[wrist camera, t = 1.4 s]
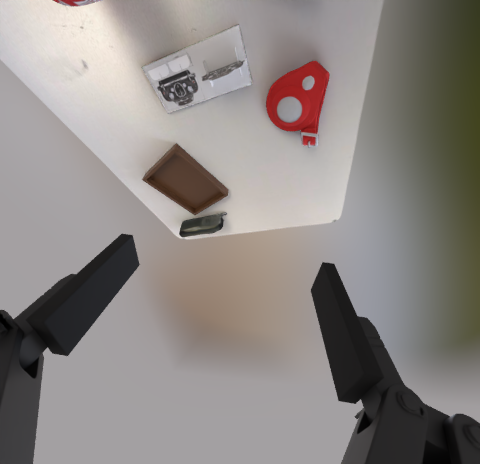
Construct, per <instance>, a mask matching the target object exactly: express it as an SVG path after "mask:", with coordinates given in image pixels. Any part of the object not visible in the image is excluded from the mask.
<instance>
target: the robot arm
mask: <svg viewBox="0 0 480 464" xmlns="http://www.w3.org/2000/svg"><path fill="white" fill-rule="evenodd" d="M138 266H139V261H138V257H137V252H136V248H135V243H134V240H133V236H132V235H126V234H121V235H120V236H119V237H118V238H117V239H116V240H114V241H113V242H112V243H111V244H110V245H109V246H108V247H106V248H105V249H104V250H103V251H102V252H101V253H100V254H99V255H97V256H96V257H95V258H94V259H93V260H92V261H91V262H90V263H88V264H87V265H86V266H85V267H84V268H83V269H82V270H81V271H80V272H79V273H78V274H70V275H69V276H67V277H65V278H63V279H61V280H60V281H58V282H57V283H56V284H55V285H54V286H53V287H52V288H51V289H49V290H48V291H47V292H45V293H44V295H42V296H41V297H40V298H38V299H37V300H36V301H35V302H34V303H32V304H31V305H30V306H29V307H28V308H27V309H25V310H24V311H23V312H22V313H21V314H20V315H19V316H17V317H16V318H15V319H12V317H11V316H10V315H9V314H8V313H7V312H6V311H4V310H0V464H33V457H34V448H35V438H36V428H37V418H38V409H39V399H40V390H41V380H42V371H43V361H44V357H43V352H44V350H45V349H46V348H47V347H48V348H49V349H50V351H51V352H52V353H54V354H59V355H65V356H68V355H69V354H70V352H71V351H72V350H73V348H74V347H75V346H76V345H77V343H78V342H79V341H80V340H81V338H82V337H83V336H84V335H85V333H86V332H87V331H88V330H89V328H90V327H91V326H92V324H93V323H94V322H95V321H96V319H97V318H98V317H99V316H100V314H101V313H102V312H103V310H104V309H105V308H106V307H107V305H108V304H109V303H110V302H111V300H112V299H113V298H114V297H115V295H116V294H117V293H118V292H119V290H120V289H121V288H122V286H123V285H124V284H125V283H126V281H127V280H128V279H129V278H130V276H131V275H132V274H133V273H134V271H135V270H136V269H137V267H138ZM311 293H312V297H313V301H314V305H315V309H316V313H317V317H318V321H319V325H320V329H321V332H322V337H323V341H324V344H325V349H326V353H327V357H328V360H329V364H330V368H331V372H332V376H333V380H334V384H335V388H336V392H337V396H338V400H339V401H342V402H349V403H354V404H356V402H358V401H359V400H360V399H361V400H362V403H363V406H364V408H363V409H362V410H361V411H360V412H359V413H357V415H356V416H355V418H356V419H358V418H359V419H358V422H357V424H356V427H355V429H354V432H353V434H352V437H351V440H350V442H349V445H348V447H347V450H346V452H345V455H344V457H343V460H342V462H341V464H480V423H478V422H477V421H475V420H474V419H472V418H471V417H469V416H467V415H464V414H455V415H453V416H451V417H450V416H448V415H446V414H444V413H442V412H440V411H438V410H436V409H434V408H432V407H429V406H428V405H425V404H424V403H423V402H422V401H421V400H420V398H419V397H418V396H417V395H416V394H415V393H414V392H413V391H412V390H411V389H409V388H407V387H406V386H405V385H404V383H403V381H402V380H401V378H400V376H399V374H398V372H397V370H396V368H395V366H394V364H393V362H392V360H391V358H390V356H389V354H388V352H387V350H386V348H385V347H384V344H383V342H382V340H381V339H380V336H379V334H378V332H377V330H376V328H375V326H374V325H373V324H372V323H371V322H370V321H369V320H368V318H365V317H358V316H357V315H356V312H355V310H354V308H353V305H352V303H351V301H350V299H349V296H348V294H347V292H346V290H345V287H344V285H343V283H342V281H341V278H340V276H339V274H338V272H337V269H336V267H335V265H334V264H331V263H324V262H323V263H322V265H321V267H320V270H319V272H318V275H317V277H316V279H315V281H314V284H313V286H312V289H311Z"/></svg>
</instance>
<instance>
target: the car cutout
mask: <svg viewBox="0 0 480 464" xmlns="http://www.w3.org/2000/svg"><path fill="white" fill-rule="evenodd" d="M142 69H143V71H144V72H145V74H146V76H147V78H148V79H149V81H150V83H151V85H152V87H153V88H154V90H155V92H156V94H157V95H158V97H159V99H160V101H161V102H162V104H163V106H164V108H165V110H166V111H167V113H168V114H169V113H171V112H174V111H177V110H180V109H183V108H186V107H189V106H192V105H194V104H197V103H200V102H203V101H206V100H209V99H212V98H215V97H217V96H220V95H223V94H226V93H229V92H232V91H235V90H238V89H240V88H243V87H246V86H249V85H252V80H251V76H250V71H249V67H248V62H247V58H246V53H245V49H244V44H243V40H242V35H241V31H240V26H239V24H238V25H236V26H233V27H231V28H229V29H227V30H224V31H222V32H220V33H218V34H215V35H213V36H211V37H208V38H206V39H204V40H202V41H199V42H197V43H195V44H193V45H190V46H188V47H186V48H184V49H181V50H179V51H177V52H174V53H172V54H170V55H168V56H165V57H163V58H161V59H159V60H156V61H154V62H152V63H150V64H147V65H145V66H143V67H142Z"/></svg>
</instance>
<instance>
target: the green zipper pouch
mask: <svg viewBox="0 0 480 464" xmlns="http://www.w3.org/2000/svg"><path fill="white" fill-rule="evenodd" d="M226 214H227V213H226V212H225V213H221V214H217V215H212V216H206V217H202V218H196V219H191V220H186V221H184V222H183V223H182V225H181V228H180V233H179V234H180V236H181V237H187V236H194V235H200V234H210V233H214V232H216V231H219V230H221V228H222V227H223V218H222V216H223V215H226Z"/></svg>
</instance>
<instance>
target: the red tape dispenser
mask: <svg viewBox="0 0 480 464" xmlns="http://www.w3.org/2000/svg"><path fill="white" fill-rule="evenodd" d="M328 81H329V72H328V71H327V70H326V69H324V68H323V67H322V66H321V65H320V64H319V63H318V62H317V61H312V62H309V63H307V64H306V65H304V66H302V67H300V68H298V69H296V70H293V71H290V72H288V73H287V74H285V75H284V76H282V77H281V78H279V79H278V80H277V81H276V82H275V83H274V84H273V85H272V86H271V88H270V90H269V93H268V96H267V101H266V107H267V113H268V115H269V118H270V119H271V121H272V122H273V123H274V124H275V125H276V126H277V127H279V128H280V129H282V130H285V131H298V130H301V141H302V145H308V147H309V148H310V146H315V147H317V146H318V134H317V132H318V123H319V116H320V112H321V108H322V104H323V100H324V96H325V92H326V88H327V84H328Z"/></svg>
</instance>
